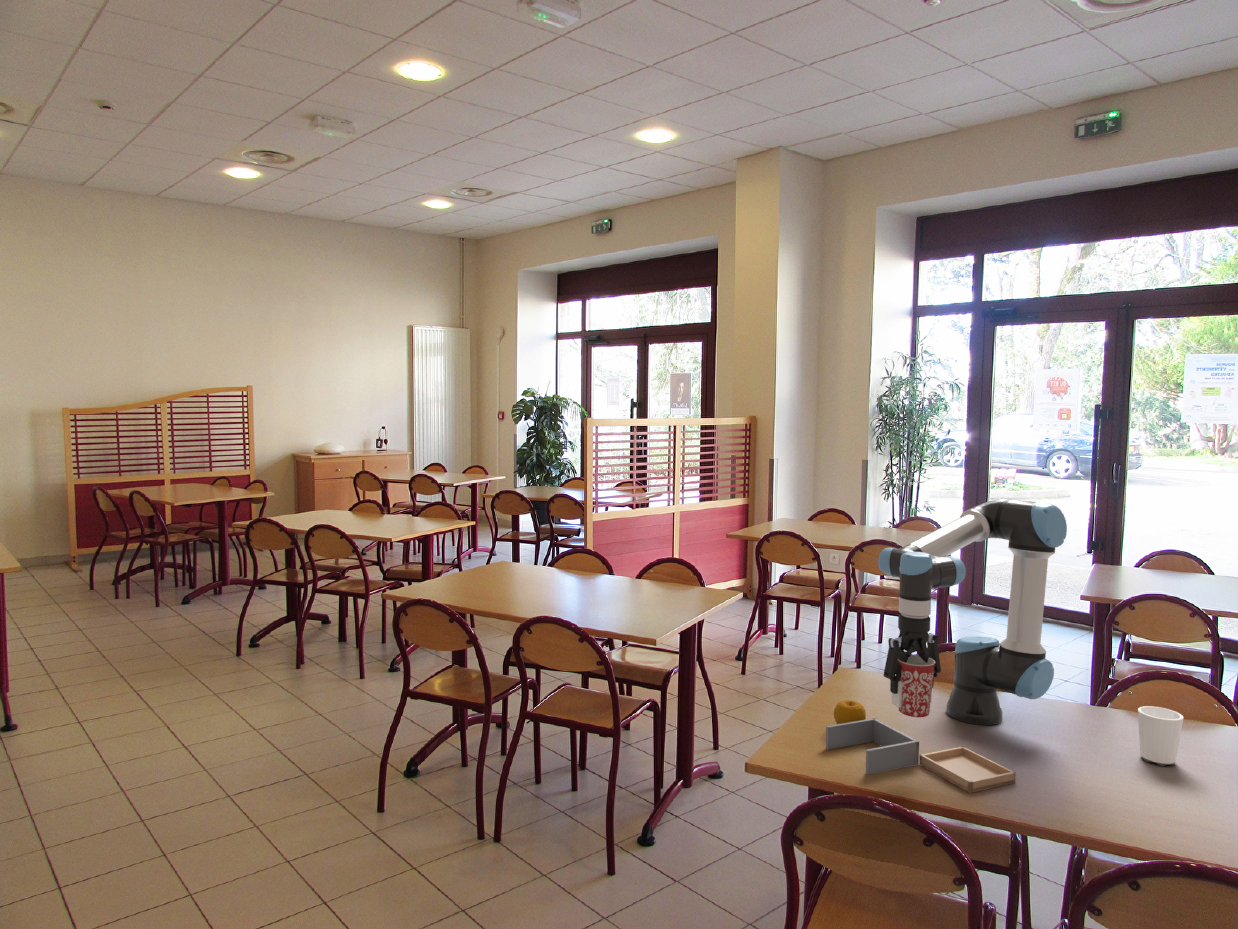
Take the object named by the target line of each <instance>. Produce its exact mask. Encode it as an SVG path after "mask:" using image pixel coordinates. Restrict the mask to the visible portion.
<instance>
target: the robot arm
mask: <svg viewBox="0 0 1238 929" xmlns="http://www.w3.org/2000/svg"><path fill="white" fill-rule="evenodd" d="M1067 524H1068V523H1067V520H1066V517H1065V514H1064V513H1063V511H1062V510H1061V509H1060V507H1058V506H1057V505H1055V504H1052V503H1051V504H1050V503H1046V502H1042V501H1031V500H1030V501H1029V500H1020V499H1012V498H998V499H993V500H989V501H986V502H984V503H980V504H977V505H975V506H972V507H971V508H968V509H966V510H965V511H963V512H962V513H961V515H960V517H959V518H957V519H955V520H953V521H951V522H949V523H948V524H946V525H943V526H941V527H940V528H938V529H936V530H933V531H932V532H930V533H928V534H926V535H924V536H922V537H920V538H918V539H916V540H915V541H912V542H910V543H909V544H906V545H905V546H903V547H900V548H897V547H885V548H884V549H882V550H881V552H880V553H879V556H878V560H877V565H878V568H879V570H880V572H882V573H883V574H884V575H888V576H890V577H892V578H899V592H898V593H899V594H898V596H899V597H898V612H899V614H898V616H897V617H898V619H897V620H898V621H897V628H898V629H899V630H898V631H899V634H898V637H895V638H893V637H889V638H888V650H887V656H886V660H885V661H886V662H885V665H884V671H883V677H884V678H886V679H889V682H890V684H889V685H890V687H889V690H890V693H891V705H893V706H895V707H897V708H899V707H901V706H902V681H900V677H901V665H900V664H899V662H898V661H897V660H898V659H899V660H900V661H902V662H904V663H907V660H908V658H909V657H910V656H911V654H914V653H917V655H919V656H920V657H921V658H922V660H924V661H925V662H926V663H927V662H928V658H932V659H933V660H935V662H936V663H935V665H934V674H933V683H932V689H933V688H934V682H935V680H934V679H935V678H937V677H938V676H939V675H938V674H940V673H941V672H942V667H941V660H940V653H939V646H938V643H939V635H937V634H933V633H931V632H930V630H931V617H930V615H931V613H932V612H931V611H932V610H931V609H932V608H931V607H932V606H931V604H932V590H933V589H939V588H940V589H941V588H947V587H949V588H950V587H953V586H956V585H959V584H962V582H963V581H964V579H965V578H966V573H967V572H966V566H965V563H964V562H963V561H962V560H961V558H959V557H957V556H953V555H952V554H953V553H955V552H957V551H959V550H961V549H963V548H964V547H967V546H968V545H970V544H972V543H974V542H977V543H978V542H984V541H986V540H987V539H1001V540H1007V541H1008V547H1007V548H1008V550H1010V552H1011V553H1012V554H1013V559H1012V569H1011V580H1010V581H1011V584H1010V591H1009V592H1010V593H1009V594H1010V595H1009V605H1008V606H1009V607H1008V617H1007V626H1006V628H1007V629H1006V637H1005V639H1004V640H1002V641H999V640H998V639H997V638H996V637H989V636H965V637H961V638H958V639H957V640H956V643H955V650H954V669H953V670H954V671H953V673H954V674H953V688H952V690H951V693H950V695H949V699H948V701H947V702H946V707H945V708H946V710H945V712H946V714H947V715H948V716H949V717H951V718H953V719H956V720H958V721H961V722H965V723H969V724H973V725H983V726H985V725H989V726H991V725H996V724H999V723H1001V722H1002V721H1003V710H1002V707H1001V705H1000V701H999V696H998V690H1000V691H1003V692H1005V693H1006V692H1007V693H1009V694H1013V695H1015V696H1017V697H1019V698H1025V699H1029V700H1037V699H1040V698H1041V697H1043V696H1044V695H1045V694H1046V693H1047V692H1048V691H1049V689H1050V687H1051V686H1052V684H1053V681H1054V680H1053V679H1054V676H1055V668H1054V666H1053V663H1052V662H1051V661H1050V660H1049V659H1046V656H1047V655H1046V654H1047V651H1046V648H1044V647H1043V645H1042V644H1041V642H1042V632H1043V631H1042V629H1043V622H1044V621H1043V619H1044V611H1045V610H1044V609H1045V608H1044V607H1045V598H1046V588H1047V586H1046V584H1047V575H1048V566H1049V565H1048V564H1049V558H1050V557H1052V556H1053V555H1054V554H1056V548H1059V547H1061V546H1062V545H1063V544H1064V542H1065V539H1066V538H1067V532H1068V525H1067ZM931 698H932V693H931Z"/></svg>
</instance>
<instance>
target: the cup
mask: <svg viewBox="0 0 1238 929" xmlns="http://www.w3.org/2000/svg"><path fill="white" fill-rule="evenodd" d="M1137 718H1138V720H1137V721H1138V738H1139V755H1140V756H1141V757H1142V759H1143V760H1144V762H1146V763H1150V764H1151V763H1154V764H1156V765H1157V766H1159V767H1165V766H1166V765H1168V766H1173V767H1174V765H1175V764H1176V762H1177V756H1178V750H1179V746H1180V739H1181V733H1182V728H1183V722H1184V715H1183V714H1181V713H1179V712H1178V711H1175V710H1172V709H1169V708H1165V707H1161V706H1152V705H1151V706H1150V705H1145V706H1144V705H1143V706H1140V707H1138V708H1137Z"/></svg>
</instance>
